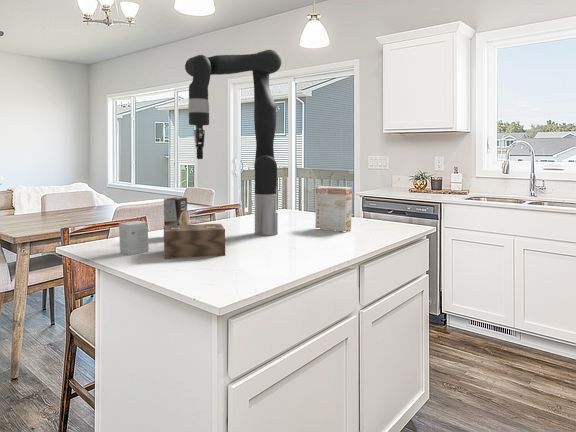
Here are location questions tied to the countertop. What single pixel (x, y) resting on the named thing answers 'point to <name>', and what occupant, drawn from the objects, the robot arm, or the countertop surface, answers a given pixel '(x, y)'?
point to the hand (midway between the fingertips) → (199, 159)
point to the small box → (133, 237)
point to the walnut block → (194, 241)
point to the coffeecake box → (333, 208)
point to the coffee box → (175, 211)
